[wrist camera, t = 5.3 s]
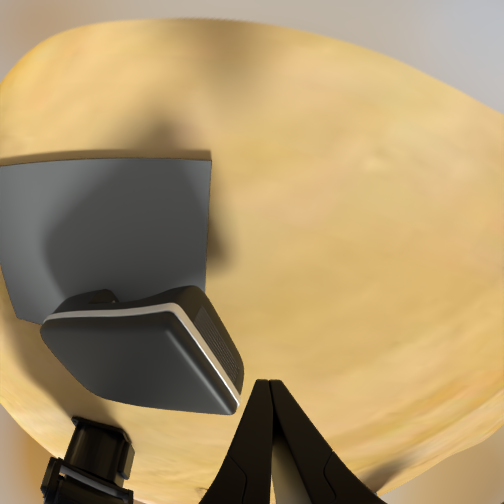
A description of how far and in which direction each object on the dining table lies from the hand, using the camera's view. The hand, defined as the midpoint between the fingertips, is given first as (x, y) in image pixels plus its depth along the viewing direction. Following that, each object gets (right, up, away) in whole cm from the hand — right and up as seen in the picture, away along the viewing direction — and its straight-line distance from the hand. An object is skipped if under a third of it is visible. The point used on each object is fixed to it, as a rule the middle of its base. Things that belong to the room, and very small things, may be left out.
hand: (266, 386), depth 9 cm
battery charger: (-2, 0, +3) cm, 3 cm away
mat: (-11, +4, +6) cm, 13 cm away
